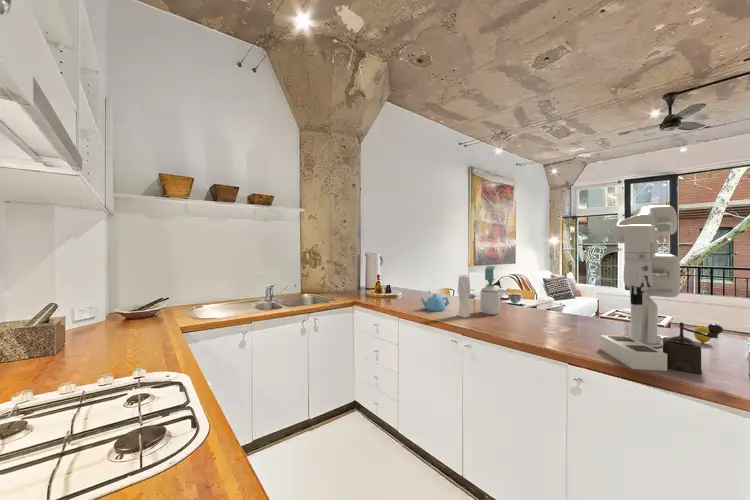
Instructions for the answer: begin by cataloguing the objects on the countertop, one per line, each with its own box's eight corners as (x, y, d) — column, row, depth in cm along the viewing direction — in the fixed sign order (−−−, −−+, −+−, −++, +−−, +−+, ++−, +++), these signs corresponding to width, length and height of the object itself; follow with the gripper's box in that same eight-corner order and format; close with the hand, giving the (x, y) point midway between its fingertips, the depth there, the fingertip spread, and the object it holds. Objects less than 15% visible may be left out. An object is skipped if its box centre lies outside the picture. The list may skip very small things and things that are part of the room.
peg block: (628, 350, 138) (628, 335, 138) (667, 370, 116) (667, 353, 116) (600, 348, 140) (600, 334, 140) (632, 368, 118) (633, 351, 118)
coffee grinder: (661, 367, 119) (662, 319, 119) (662, 359, 127) (662, 314, 127) (723, 379, 108) (724, 326, 108) (719, 370, 117) (720, 320, 116)
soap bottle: (502, 312, 215) (502, 266, 215) (498, 316, 205) (498, 267, 204) (483, 310, 222) (483, 265, 222) (478, 314, 212) (478, 266, 211)
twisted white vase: (473, 317, 202) (474, 272, 202) (465, 318, 198) (465, 273, 197) (463, 314, 209) (463, 271, 209) (454, 316, 205) (454, 272, 204)
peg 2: (643, 361, 123) (643, 346, 123) (651, 365, 119) (651, 350, 119) (631, 361, 124) (631, 346, 124) (638, 365, 120) (638, 349, 120)
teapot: (437, 313, 215) (437, 296, 215) (419, 309, 226) (419, 294, 226) (450, 309, 226) (450, 294, 226) (432, 306, 237) (432, 292, 237)
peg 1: (623, 350, 136) (623, 337, 136) (629, 354, 132) (629, 340, 132) (612, 350, 137) (612, 336, 137) (618, 353, 133) (618, 339, 133)
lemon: (708, 345, 144) (708, 327, 144) (691, 342, 149) (692, 325, 149) (713, 344, 147) (713, 326, 147) (696, 340, 152) (697, 323, 152)
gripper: (661, 258, 116) (661, 308, 117) (635, 255, 131) (634, 300, 132) (638, 258, 117) (638, 308, 118) (614, 256, 132) (614, 300, 133)
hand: (636, 304), depth 125 cm, fingers closed
